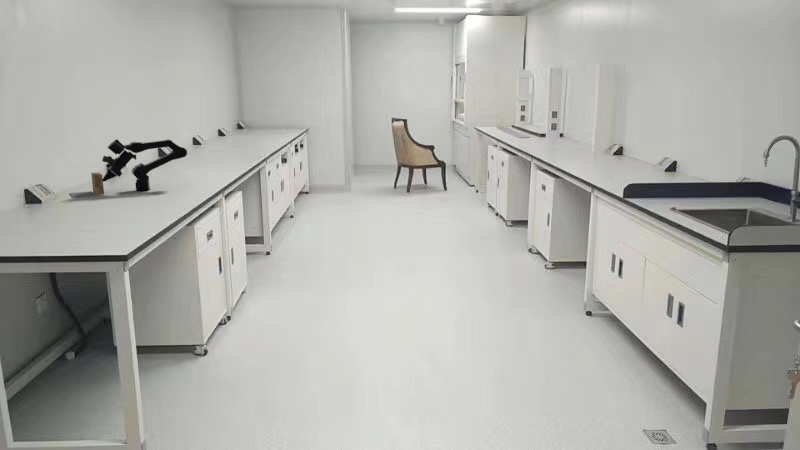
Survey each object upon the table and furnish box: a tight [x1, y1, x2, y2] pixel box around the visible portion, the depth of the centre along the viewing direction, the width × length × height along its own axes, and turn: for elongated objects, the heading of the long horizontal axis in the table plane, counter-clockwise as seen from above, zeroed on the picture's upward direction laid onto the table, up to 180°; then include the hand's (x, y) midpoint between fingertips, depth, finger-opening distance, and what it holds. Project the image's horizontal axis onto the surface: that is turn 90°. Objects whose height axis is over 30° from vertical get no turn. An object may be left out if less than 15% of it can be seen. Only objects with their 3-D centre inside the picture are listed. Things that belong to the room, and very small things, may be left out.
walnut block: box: [91, 171, 105, 197], centre depth 342 cm, size 4×12×11 cm, turn 33°
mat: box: [69, 190, 96, 198], centre depth 339 cm, size 11×14×1 cm
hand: (102, 181), depth 344 cm, fingers closed
